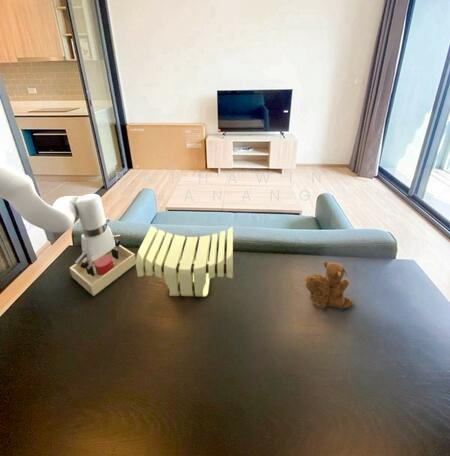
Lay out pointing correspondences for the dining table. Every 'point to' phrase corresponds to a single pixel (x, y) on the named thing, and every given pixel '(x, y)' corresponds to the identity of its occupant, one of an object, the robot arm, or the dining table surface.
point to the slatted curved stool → (185, 261)
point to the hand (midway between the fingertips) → (104, 265)
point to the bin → (101, 281)
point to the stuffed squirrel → (329, 287)
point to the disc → (104, 264)
